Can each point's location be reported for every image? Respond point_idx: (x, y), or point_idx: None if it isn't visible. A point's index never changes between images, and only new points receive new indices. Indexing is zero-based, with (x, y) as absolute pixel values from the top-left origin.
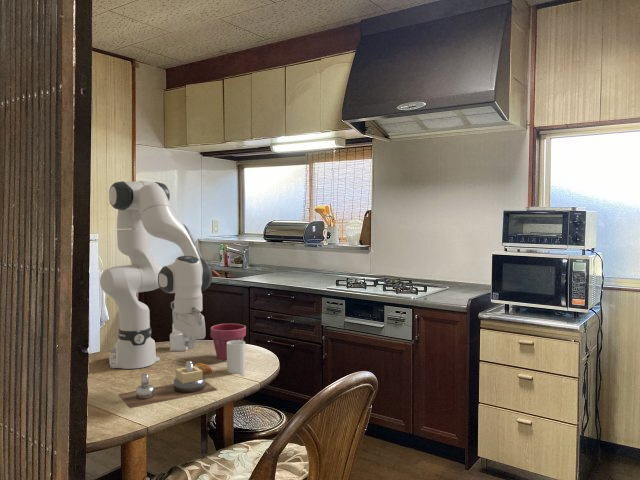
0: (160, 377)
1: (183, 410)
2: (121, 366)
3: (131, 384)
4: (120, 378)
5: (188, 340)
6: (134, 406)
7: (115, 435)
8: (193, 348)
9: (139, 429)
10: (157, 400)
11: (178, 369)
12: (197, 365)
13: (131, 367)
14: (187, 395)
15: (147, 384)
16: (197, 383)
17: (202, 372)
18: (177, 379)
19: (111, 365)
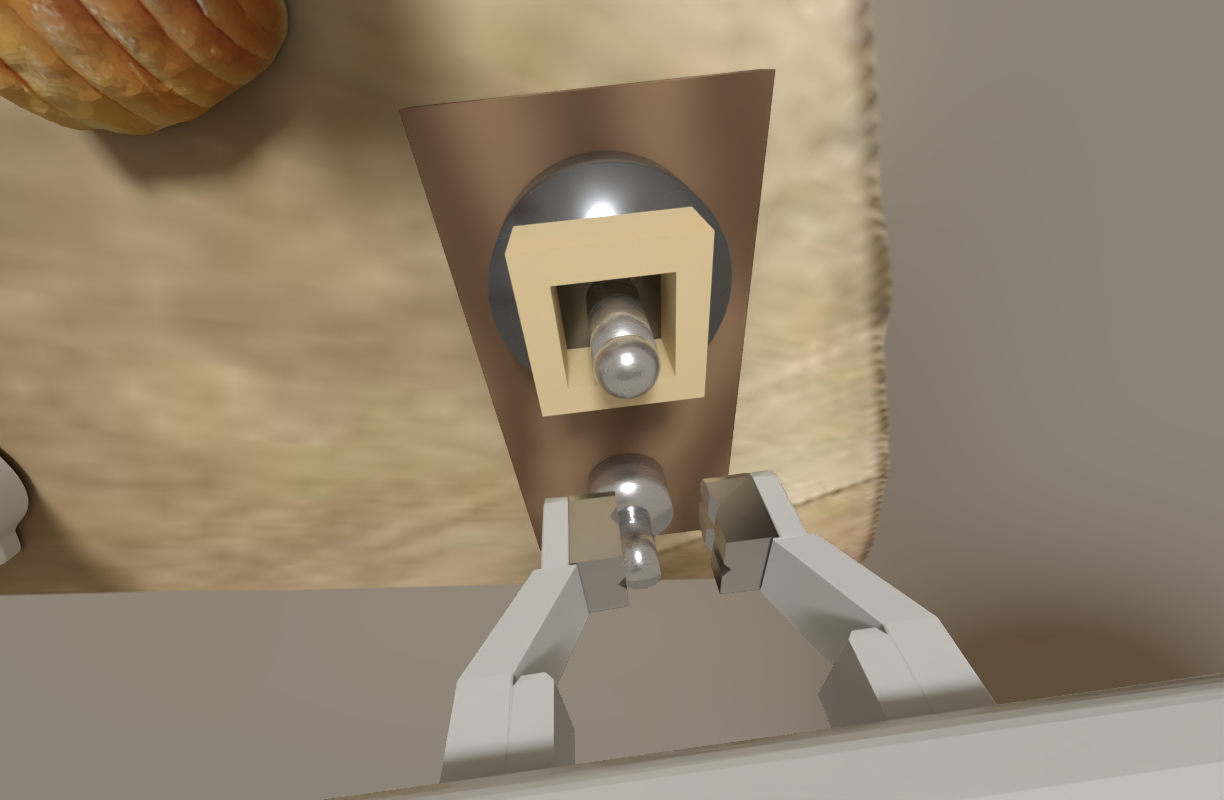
0: (218, 363)
1: (842, 349)
2: (8, 527)
3: (346, 491)
4: (230, 522)
5: (577, 582)
6: None
7: (858, 541)
8: (768, 473)
9: (875, 496)
10: (707, 447)
11: (557, 403)
12: (5, 50)
13: (12, 488)
14: (733, 315)
15: (650, 525)
16: (729, 263)
17: (709, 226)
18: None
19: (4, 562)
